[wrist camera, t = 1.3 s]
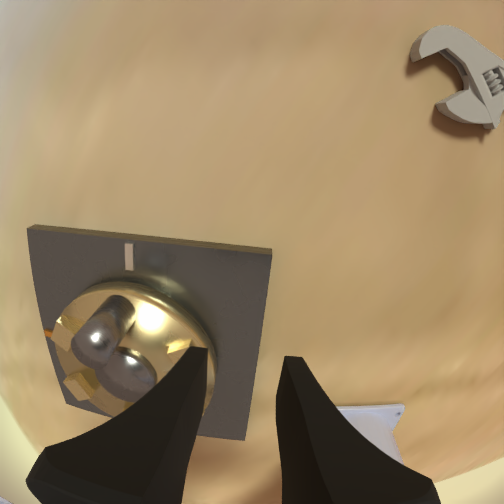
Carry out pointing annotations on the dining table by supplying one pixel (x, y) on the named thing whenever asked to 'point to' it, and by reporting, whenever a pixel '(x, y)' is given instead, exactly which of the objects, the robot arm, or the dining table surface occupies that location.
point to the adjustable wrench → (466, 75)
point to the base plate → (173, 285)
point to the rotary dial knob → (125, 343)
